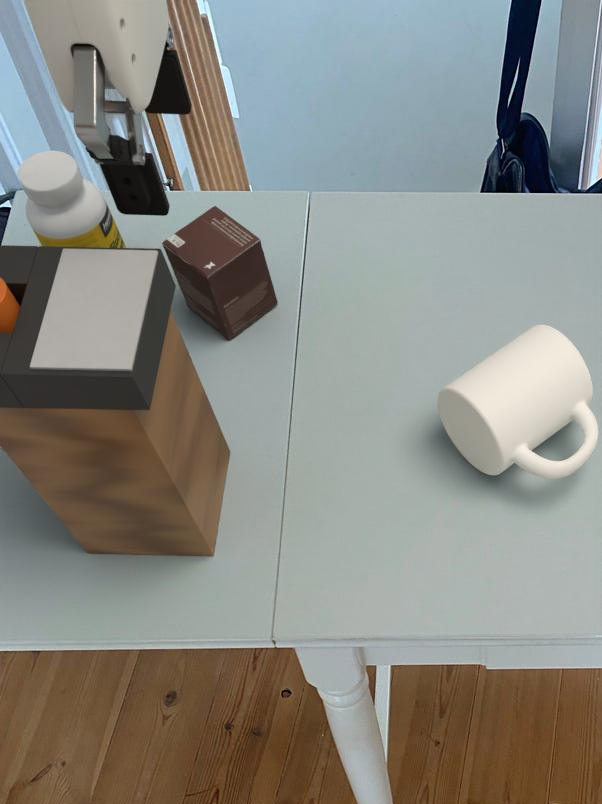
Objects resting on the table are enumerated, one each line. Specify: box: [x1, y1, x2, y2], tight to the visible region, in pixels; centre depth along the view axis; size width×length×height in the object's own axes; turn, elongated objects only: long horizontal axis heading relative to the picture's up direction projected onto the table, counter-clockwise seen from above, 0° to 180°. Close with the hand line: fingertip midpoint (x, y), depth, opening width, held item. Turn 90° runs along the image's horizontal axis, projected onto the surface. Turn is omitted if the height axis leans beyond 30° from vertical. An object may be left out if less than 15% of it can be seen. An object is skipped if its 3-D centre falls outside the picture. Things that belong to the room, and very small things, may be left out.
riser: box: [0, 310, 231, 557], centre depth 63 cm, size 10×10×18 cm
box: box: [161, 205, 279, 340], centre depth 76 cm, size 6×6×7 cm
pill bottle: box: [17, 150, 127, 248], centre depth 75 cm, size 6×6×12 cm
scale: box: [0, 244, 177, 410], centre depth 53 cm, size 12×10×3 cm
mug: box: [437, 324, 599, 480], centre depth 70 cm, size 12×10×8 cm
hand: (157, 159), depth 58 cm, fingers open, 9 cm apart
